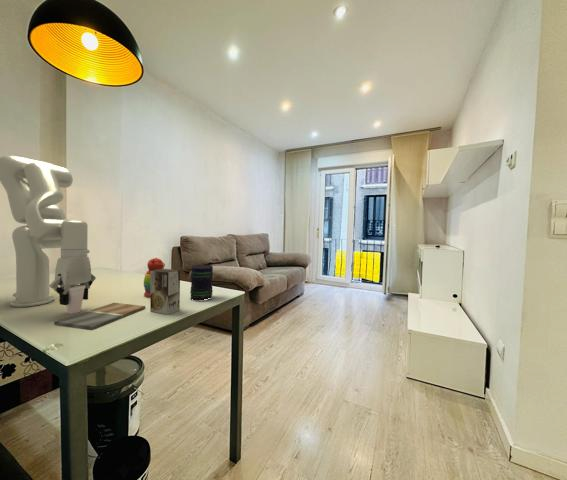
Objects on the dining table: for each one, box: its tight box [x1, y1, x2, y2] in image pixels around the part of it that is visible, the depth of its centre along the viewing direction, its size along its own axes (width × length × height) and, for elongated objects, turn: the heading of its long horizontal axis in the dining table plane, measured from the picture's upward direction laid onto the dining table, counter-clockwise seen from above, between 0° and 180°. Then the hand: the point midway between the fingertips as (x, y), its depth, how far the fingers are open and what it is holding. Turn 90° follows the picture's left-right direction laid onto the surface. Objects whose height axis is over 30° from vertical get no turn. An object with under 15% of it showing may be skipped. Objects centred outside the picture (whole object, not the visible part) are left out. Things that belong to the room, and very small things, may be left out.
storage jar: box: [189, 264, 214, 300], centre depth 115 cm, size 10×10×15 cm
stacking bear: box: [143, 257, 166, 299], centre depth 118 cm, size 11×10×18 cm
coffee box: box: [149, 268, 181, 315], centre depth 96 cm, size 9×6×16 cm
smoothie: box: [63, 284, 85, 315], centre depth 92 cm, size 6×6×14 cm
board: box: [53, 302, 146, 330], centre depth 89 cm, size 15×22×1 cm
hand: (74, 301), depth 92 cm, fingers closed on smoothie, 6 cm apart
